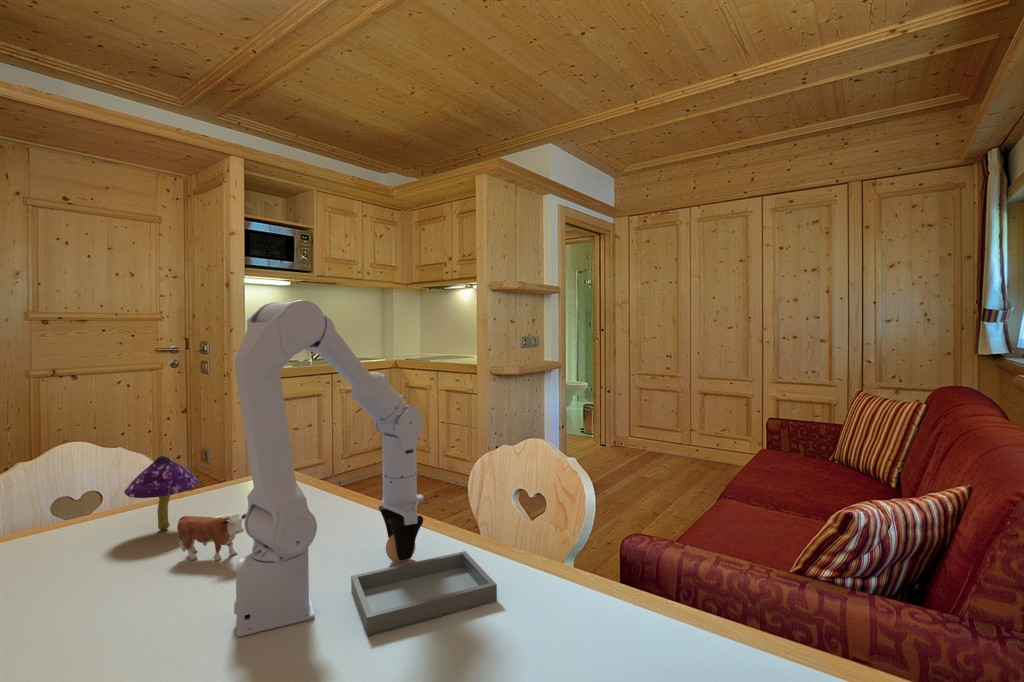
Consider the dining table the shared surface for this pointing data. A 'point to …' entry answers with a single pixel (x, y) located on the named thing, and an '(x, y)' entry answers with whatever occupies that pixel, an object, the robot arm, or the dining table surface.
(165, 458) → the decorative mushroom
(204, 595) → the dining table surface
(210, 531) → the bull figurine
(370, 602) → the walled pen
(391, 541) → the ball
